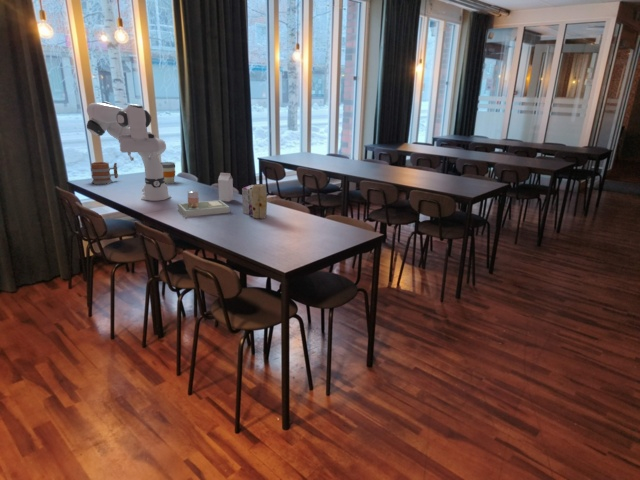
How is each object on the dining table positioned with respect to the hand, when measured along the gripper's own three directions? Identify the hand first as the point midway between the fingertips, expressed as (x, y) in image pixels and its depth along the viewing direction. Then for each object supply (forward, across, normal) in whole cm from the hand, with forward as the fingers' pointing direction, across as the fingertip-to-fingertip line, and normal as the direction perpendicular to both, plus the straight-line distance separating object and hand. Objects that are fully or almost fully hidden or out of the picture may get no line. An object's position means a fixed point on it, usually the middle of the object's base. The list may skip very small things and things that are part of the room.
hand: (141, 160), depth 238 cm
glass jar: (+30, +25, -10) cm, 40 cm away
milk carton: (+31, +52, +12) cm, 62 cm away
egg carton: (+30, +38, -10) cm, 49 cm away
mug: (+31, -13, +104) cm, 109 cm away
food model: (+32, +57, -34) cm, 73 cm away
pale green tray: (+31, +31, -10) cm, 45 cm away
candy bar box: (+32, +56, -22) cm, 68 cm away
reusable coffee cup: (+31, +30, +88) cm, 98 cm away
